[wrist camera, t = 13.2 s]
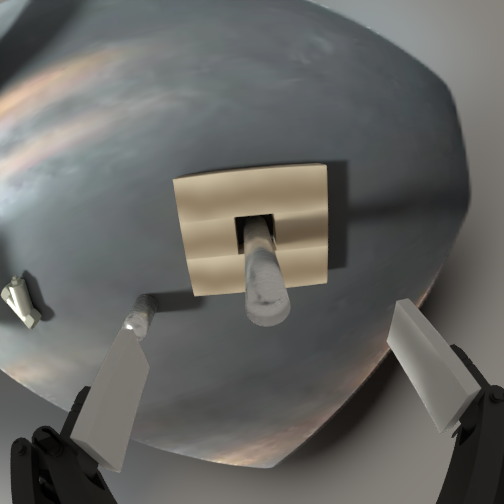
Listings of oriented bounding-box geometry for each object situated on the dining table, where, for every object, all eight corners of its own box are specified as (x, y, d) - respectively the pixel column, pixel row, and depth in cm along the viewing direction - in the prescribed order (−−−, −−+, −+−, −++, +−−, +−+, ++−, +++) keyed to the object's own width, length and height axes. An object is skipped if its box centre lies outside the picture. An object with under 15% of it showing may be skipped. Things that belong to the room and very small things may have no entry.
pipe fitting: (19, 266, 31) (11, 290, 33) (4, 276, 28) (-2, 300, 29) (49, 300, 34) (39, 321, 35) (36, 312, 30) (28, 333, 31)
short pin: (134, 294, 33) (118, 321, 28) (154, 293, 33) (140, 320, 28) (140, 313, 34) (126, 341, 29) (160, 312, 34) (148, 341, 29)
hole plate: (179, 176, 28) (173, 179, 25) (318, 162, 28) (326, 165, 25) (197, 283, 33) (194, 296, 30) (320, 271, 33) (326, 282, 30)
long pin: (242, 216, 30) (243, 291, 15) (266, 214, 30) (290, 287, 15) (244, 238, 31) (248, 328, 16) (267, 236, 31) (290, 323, 16)
